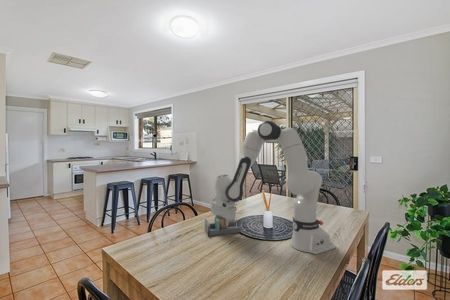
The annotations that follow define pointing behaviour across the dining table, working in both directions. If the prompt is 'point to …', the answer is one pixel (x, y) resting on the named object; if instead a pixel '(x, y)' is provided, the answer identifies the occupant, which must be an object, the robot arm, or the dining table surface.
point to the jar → (222, 222)
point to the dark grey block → (212, 232)
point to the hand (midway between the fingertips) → (222, 223)
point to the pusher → (216, 223)
